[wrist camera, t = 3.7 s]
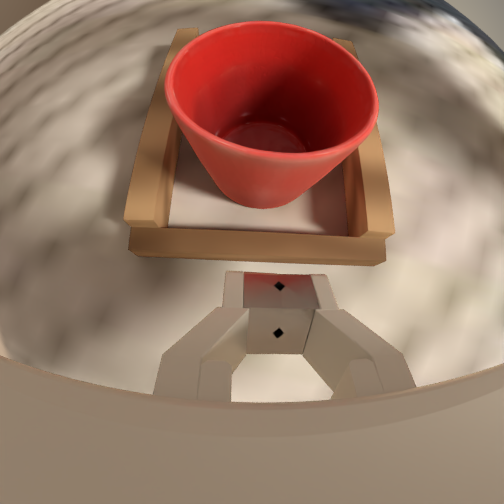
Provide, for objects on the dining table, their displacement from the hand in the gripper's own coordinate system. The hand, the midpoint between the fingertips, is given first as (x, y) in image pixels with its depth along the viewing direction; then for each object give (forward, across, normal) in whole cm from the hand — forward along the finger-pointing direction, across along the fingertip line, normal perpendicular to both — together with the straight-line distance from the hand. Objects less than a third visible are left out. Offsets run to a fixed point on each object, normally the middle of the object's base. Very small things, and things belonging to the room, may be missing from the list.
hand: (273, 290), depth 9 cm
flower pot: (+15, 0, 0) cm, 15 cm away
